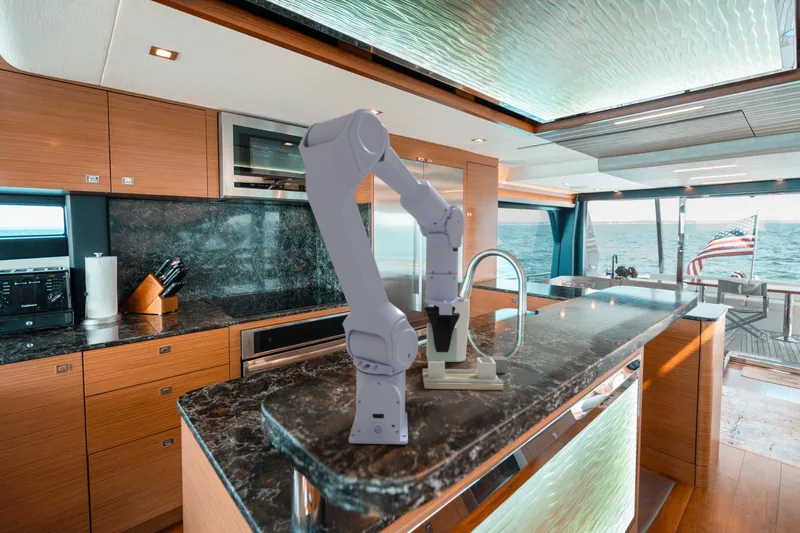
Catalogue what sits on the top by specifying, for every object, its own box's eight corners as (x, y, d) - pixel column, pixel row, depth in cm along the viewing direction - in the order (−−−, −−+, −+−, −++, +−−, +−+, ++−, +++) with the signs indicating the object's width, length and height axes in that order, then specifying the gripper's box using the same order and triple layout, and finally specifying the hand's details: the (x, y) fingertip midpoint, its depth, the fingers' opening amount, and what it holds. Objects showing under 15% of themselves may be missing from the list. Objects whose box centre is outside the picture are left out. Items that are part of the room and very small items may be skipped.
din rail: (502, 383, 72) (502, 380, 72) (424, 381, 72) (424, 378, 72) (494, 372, 79) (494, 369, 79) (422, 371, 79) (422, 368, 79)
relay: (506, 373, 82) (506, 359, 82) (488, 373, 82) (488, 359, 82) (503, 369, 85) (503, 356, 85) (485, 368, 85) (485, 355, 85)
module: (456, 361, 66) (456, 327, 66) (427, 361, 66) (428, 326, 66) (453, 355, 70) (453, 322, 70) (426, 355, 70) (426, 322, 70)
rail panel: (503, 389, 72) (503, 384, 72) (424, 388, 72) (424, 383, 72) (493, 376, 80) (493, 371, 80) (422, 374, 80) (422, 370, 80)
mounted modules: (495, 381, 74) (496, 362, 73) (429, 379, 74) (429, 361, 74) (490, 374, 78) (491, 357, 77) (427, 373, 78) (428, 356, 78)
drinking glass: (435, 359, 91) (436, 298, 91) (451, 354, 96) (452, 296, 96) (458, 365, 87) (459, 300, 86) (474, 359, 92) (475, 298, 91)
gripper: (471, 276, 60) (470, 360, 61) (458, 271, 75) (457, 339, 75) (427, 275, 60) (426, 359, 61) (422, 270, 75) (421, 338, 75)
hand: (440, 348), depth 68 cm, fingers closed on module, 4 cm apart
